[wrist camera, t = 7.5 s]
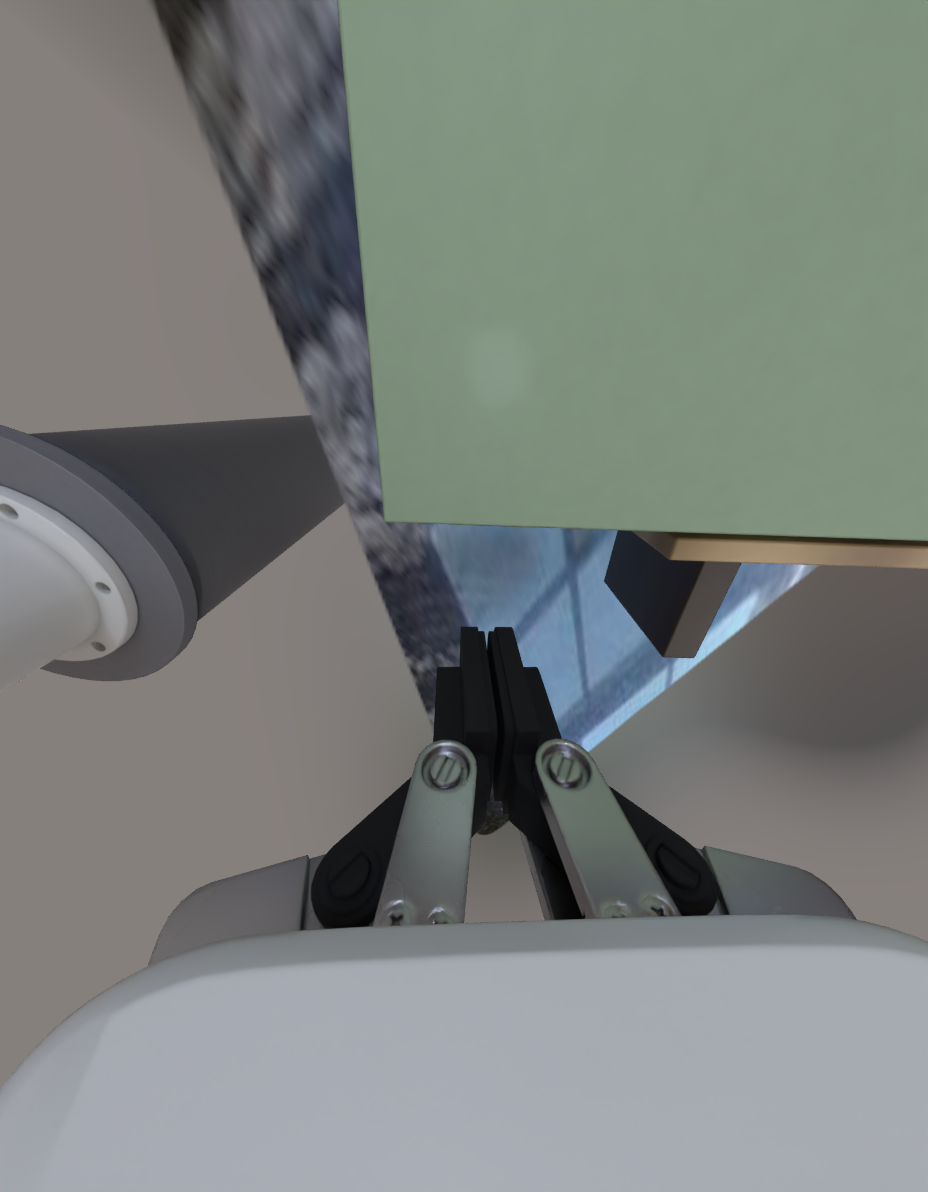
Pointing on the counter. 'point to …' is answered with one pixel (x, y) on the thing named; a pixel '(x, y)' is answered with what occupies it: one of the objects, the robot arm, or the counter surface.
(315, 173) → the counter surface
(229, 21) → the counter surface
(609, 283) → the cupboard
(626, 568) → the sliding door
